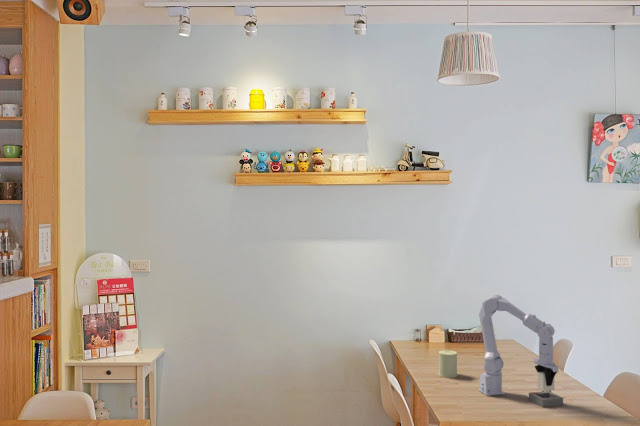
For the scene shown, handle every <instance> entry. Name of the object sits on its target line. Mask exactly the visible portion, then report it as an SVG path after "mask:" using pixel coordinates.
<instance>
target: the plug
mask: <svg viewBox="0 0 640 426" xmlns="http://www.w3.org/2000/svg"><path fill="white" fill-rule="evenodd" d="M537 389H538V390H540V391H541V392H544V391H549V393H550V392H552V391H555V378H554V379H553V382H552V386H547V385H546V377H545V373H544V372H538V373H537Z"/></svg>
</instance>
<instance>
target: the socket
mask: <svg viewBox="0 0 640 426" xmlns="http://www.w3.org/2000/svg"><path fill="white" fill-rule="evenodd" d="M528 400H529V401H531V402H532V403H535V404H536V405H537V406H540V407H542V408H547V407H557V406H564V398H563V397H562V396H559V395H557V394H555V393H554V392H552V391H551V392H550V393H549V391H544V392H542V391H532V392H528Z"/></svg>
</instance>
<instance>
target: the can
mask: <svg viewBox="0 0 640 426" xmlns="http://www.w3.org/2000/svg"><path fill="white" fill-rule="evenodd" d="M438 376H439V377H441V378H447V379H449V378H451V379H453V378H457V377H458V352H457V351H455V350H449V349H448V350H447V349H444V350H443V349H442V350H439V351H438Z"/></svg>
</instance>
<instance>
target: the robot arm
mask: <svg viewBox="0 0 640 426" xmlns="http://www.w3.org/2000/svg"><path fill="white" fill-rule="evenodd" d="M481 305H482V306H480V307H481V308H480V311H479V314H478V317H479V322H480V328H481V333H482V340H483V344H484V345H483V346H484V350H485V351H484V352H485V353H484V358H483V360H484V363H483V369H484V371H485V372H484V373H481V374H480V375H479V381H478V383H479V387H478V388H479V389H478V392H480V393H483V395H485V396H487V397H488V396H500V395H506V392H504V391H503V390H502V387H503V386H502V385H503V384H502V383H503V382H502V381H503V379H502V378H503V374H502V373H503V372H502V369H503V368H504V361H503V359H502V357H501V353H500V352H499V351H498V347H497V342H496V337H495V336H496V335H495V330H494V324H493V319H492V317H493V316H494V314H495V313H496V312H497V311H498V312H506V313H509V315H512V316H514V317H515V318H517V319H519V320H520V321H522V324H523V326H525V327H526V328H527V329H529V330H530V331H532V332H533V333H535V334H537V336H538V338H539V340H538V341H539V343H538V358H534V359H533V363H534V364H537V365H534V369H535V370H536V372H537V374H538V372H544V373H545V377H546V385H547V386H552V382H553V379H554V380H555V376H556V374H557V373H559V366H557V365H556V362H554V337H553V336H554V334H555V332H556V331H555V328H554V327H553V325H552V324H550V323H546V322H545V321H542V320H540V319H539V318H537V315H535V314H531V313H530V314H529V313H528V314H527V313H525V312H523V311H522V310H521V309H520V308H518V307H517V306H516V305H515V304H512V303H511V302H510V301H509V300H507V298H504V297H502V296H501V295H499V294H495V295H492V296H490V297H486V298H485V300H484V301H483V302H482V303H481Z"/></svg>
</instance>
